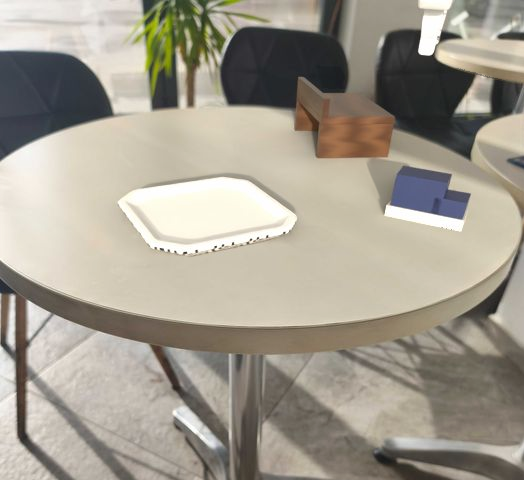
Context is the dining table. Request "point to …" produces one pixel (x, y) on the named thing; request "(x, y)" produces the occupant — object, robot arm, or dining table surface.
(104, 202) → the dining table surface
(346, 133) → the shoe shelf
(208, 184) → the plate
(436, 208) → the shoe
